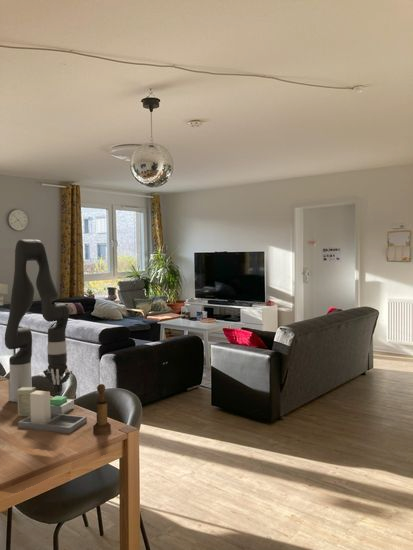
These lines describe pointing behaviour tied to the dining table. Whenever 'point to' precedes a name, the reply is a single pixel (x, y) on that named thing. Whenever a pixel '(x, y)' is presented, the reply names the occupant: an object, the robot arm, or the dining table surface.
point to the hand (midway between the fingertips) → (58, 392)
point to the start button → (58, 400)
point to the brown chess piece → (101, 414)
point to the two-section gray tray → (55, 423)
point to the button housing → (62, 407)
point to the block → (40, 407)
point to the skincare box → (24, 400)
